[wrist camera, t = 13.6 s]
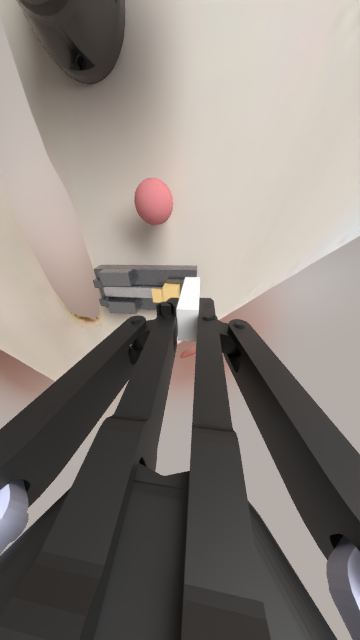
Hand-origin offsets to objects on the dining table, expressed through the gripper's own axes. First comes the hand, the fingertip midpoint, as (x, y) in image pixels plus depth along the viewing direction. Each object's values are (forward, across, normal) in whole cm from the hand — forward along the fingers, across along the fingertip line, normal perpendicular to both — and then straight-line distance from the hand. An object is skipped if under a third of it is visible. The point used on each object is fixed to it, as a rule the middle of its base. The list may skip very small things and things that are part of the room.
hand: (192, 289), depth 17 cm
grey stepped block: (+29, -14, -11) cm, 35 cm away
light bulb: (+30, -8, +8) cm, 32 cm away
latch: (+25, -8, -11) cm, 29 cm away
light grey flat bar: (+25, -17, -11) cm, 32 cm away
